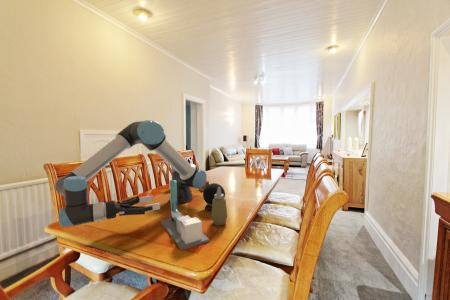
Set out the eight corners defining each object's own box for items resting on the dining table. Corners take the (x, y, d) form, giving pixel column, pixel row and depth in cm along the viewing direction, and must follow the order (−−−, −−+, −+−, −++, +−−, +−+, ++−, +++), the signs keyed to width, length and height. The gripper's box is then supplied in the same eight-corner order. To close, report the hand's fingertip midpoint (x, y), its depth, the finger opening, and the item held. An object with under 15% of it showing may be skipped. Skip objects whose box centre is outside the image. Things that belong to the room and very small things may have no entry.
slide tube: (170, 218, 106) (169, 180, 104) (176, 217, 107) (175, 179, 106) (180, 230, 92) (179, 187, 91) (187, 228, 94) (186, 186, 93)
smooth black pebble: (222, 203, 132) (222, 180, 131) (227, 211, 119) (227, 185, 118) (201, 205, 129) (201, 181, 128) (204, 213, 116) (204, 186, 115)
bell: (206, 192, 158) (206, 183, 157) (195, 190, 166) (195, 181, 165) (216, 189, 167) (216, 180, 166) (206, 187, 174) (206, 178, 174)
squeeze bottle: (221, 228, 97) (221, 190, 96) (208, 224, 102) (207, 188, 100) (230, 221, 104) (230, 186, 103) (217, 218, 109) (216, 184, 107)
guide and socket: (161, 222, 105) (160, 205, 104) (183, 217, 111) (183, 201, 110) (181, 250, 79) (180, 228, 78) (209, 241, 85) (208, 221, 85)
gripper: (105, 210, 100) (151, 202, 111) (106, 230, 79) (163, 218, 89) (104, 194, 99) (150, 188, 110) (105, 211, 78) (162, 201, 89)
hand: (156, 201), depth 100 cm, fingers open, 13 cm apart
